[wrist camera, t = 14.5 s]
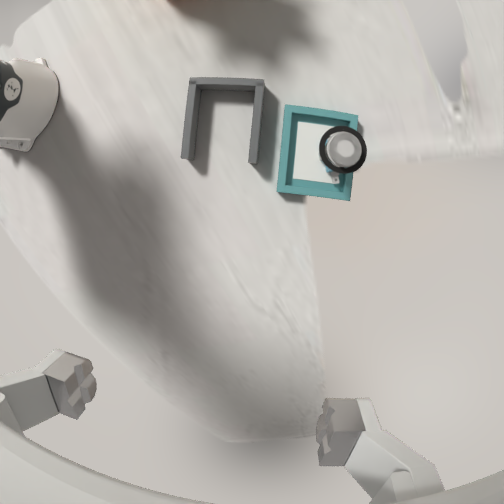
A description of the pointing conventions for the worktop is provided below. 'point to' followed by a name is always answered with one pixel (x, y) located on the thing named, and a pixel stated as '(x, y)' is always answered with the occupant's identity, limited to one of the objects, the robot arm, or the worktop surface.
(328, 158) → the push button
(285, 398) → the worktop surface
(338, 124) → the teal picture frame
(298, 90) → the worktop surface
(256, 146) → the grey u-shaped bracket
